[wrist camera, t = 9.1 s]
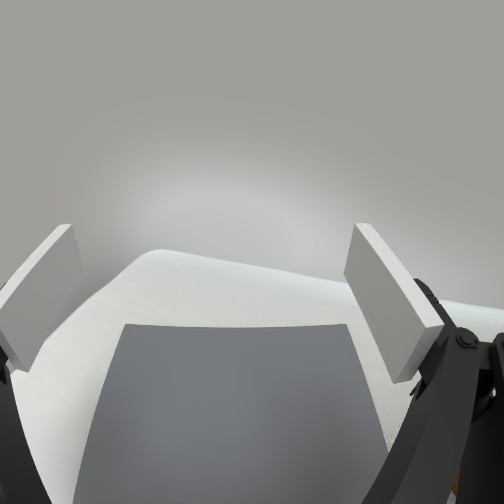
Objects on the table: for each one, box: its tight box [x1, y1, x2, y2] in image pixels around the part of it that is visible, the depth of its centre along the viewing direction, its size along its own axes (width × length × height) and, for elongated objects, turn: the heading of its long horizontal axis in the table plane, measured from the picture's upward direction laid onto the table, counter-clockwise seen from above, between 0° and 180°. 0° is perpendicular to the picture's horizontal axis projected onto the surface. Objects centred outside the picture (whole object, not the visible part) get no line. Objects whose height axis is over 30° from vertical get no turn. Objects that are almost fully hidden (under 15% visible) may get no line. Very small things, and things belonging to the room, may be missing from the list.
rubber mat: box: [73, 324, 389, 504], centre depth 18 cm, size 22×22×1 cm
